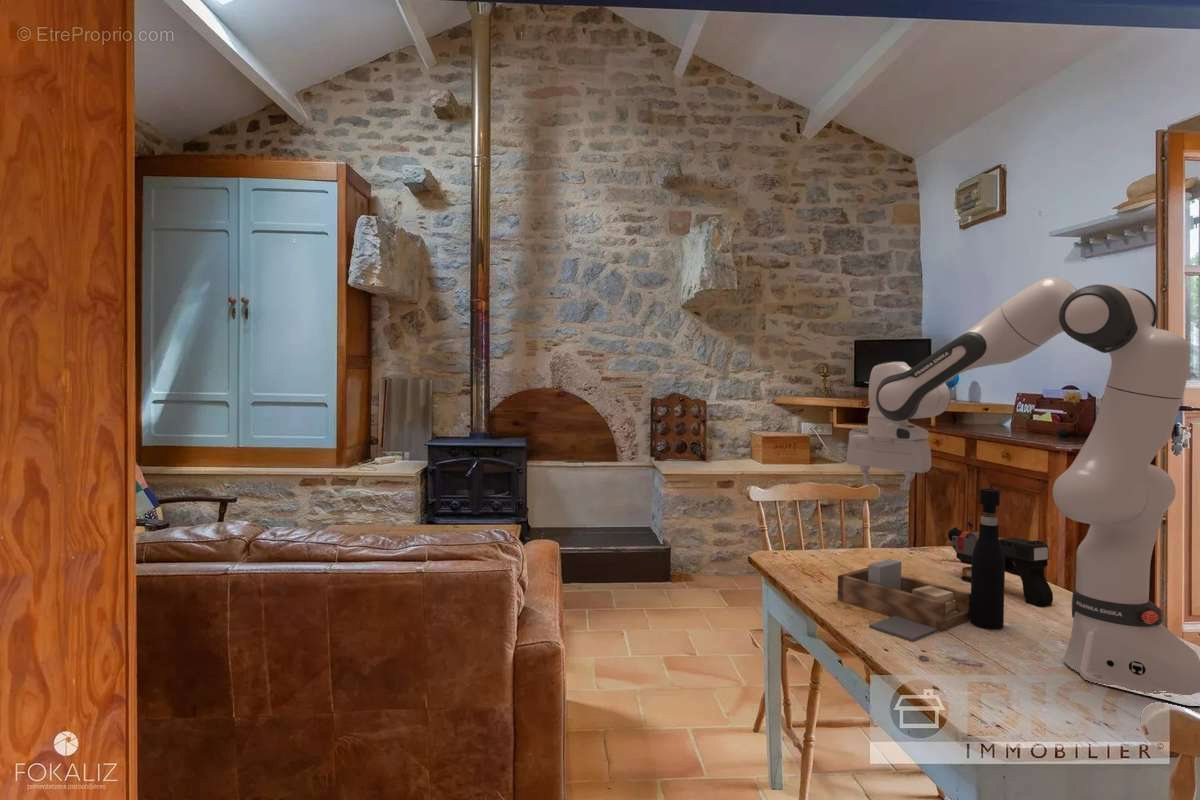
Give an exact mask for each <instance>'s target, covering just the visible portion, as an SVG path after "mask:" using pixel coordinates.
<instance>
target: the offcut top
mask: <svg viewBox="0 0 1200 800" xmlns="http://www.w3.org/2000/svg"><path fill="white" fill-rule="evenodd" d="M912 594H915V595H919V596H922V597H926V598H930V599H933V600H937V601H941V602H945V603H949V602H953V592H950V591H946V590H943V589H939V588H936V587H933V586H925V587H921V588H916V589H912Z"/></svg>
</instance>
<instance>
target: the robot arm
mask: <svg viewBox="0 0 1200 800" xmlns="http://www.w3.org/2000/svg"><path fill="white" fill-rule="evenodd" d="M1158 312H1159V311H1158V307H1157V305H1156V303H1155V301H1154V300H1153V299H1152V297H1151V296H1149V295H1148V294H1147V293H1145V292H1143V291H1141V290H1139V289H1136V288H1130V287H1127V286H1125V285H1124V286H1123V285H1120V284H1091V285H1087V286H1084V287H1082V288H1081V287H1080V288H1079V289H1077V287H1075V285H1074V284H1072V283H1071V282H1069V281H1068V280H1066V279H1064V278H1060V277H1057V276H1056V277H1055V276H1050V277H1045V278H1042V279H1041V280H1038V281H1037V282H1035V283H1033V284H1031V285H1029V286H1027V287H1025V288H1024V289H1022V290H1021V291H1019V292H1017V293H1016V294H1014V295H1013V296H1012V297H1010V298H1008V299H1007V300H1006V301H1004V303H1001V305H999V306H998V307H996V308H994V310H993V311H991V312H990V313H988V314H987V315H986V316H985V317H983V318H982V319H981V320H980V321H979V322H977V323H976V324H975V325H973V326H972V327H971V328H969V329H968V330H966V331H964V332H963V333H962V334H960V335H959V336H958V337H957V338H955V339H953V340H952V341H950V342H948V343H947V344H945V345H944V346H942V347H941V348H939V349H938V350H937V351H935V352H934V353H932V354H931V355H929V356H927V357H926V358H924V359H923V360H922V361H920V362H919V363H917V364H916V365H915V366H913V367H911V366H909V364H908V363H907V362H905V361H902V360H900V361H899V360H893V361H884V362H881V363H878V364H876V365H874V366H873V367H872V369H871V372H870V376H869V382H868V402H869V412H868V414H867V427H859V426H857V427H854V428H853V429H851V430H850V431H849V433H848V443H847V449H846V450H847V451H846V461H847V463H848V464H849V465H855V466H859V470H860V473H861V474H862V476H863V484H864V485H867V486H873V485H874V483H875V482H874V477H872V476H871V474H870V472H869V471H870V470H871V468H878V469H879V468H880V469H886V470H887V469H888V470H896V471H902V472H904V476H905V479H904V480H903V481H900V483H899V485H900V487H899V489H900V490H901V491H910V490H911V483H912V481H913V479H914V478H915V476H916V473H917V474H918V473H919V474H922V473H923V474H924V473H928V472H929V471H930V470H931V469H932V449H931V446H930V445H931V444H930V443H929V441H928V440H927V439H928V438H929V436H930V433H929V430H928V429H925V428H923V427H920V426H918V425H916V424H913V423H911V422H909V420H912V419H913V420H915V419H925V418H926V419H927V418H934V417H937V416H940V415H942V414H943V413H945V411H947V409H948V408H949V405H950V403H951V398H952V397H951V390H950V388H949V385H948V384H947V382H948V381H950V380H952V379H954V378H955V377H957V376H958V375H960V374H962V373H964V372H967V371H970V370H974V369H977V368H983V367H988V366H995V365H1003V364H1008V363H1012V362H1015V361H1017V360H1019V359H1020V358H1023V357H1026V356H1027V355H1029V354H1031V353H1033V352H1034V351H1035V350H1037V349H1039V348H1040V347H1042V346H1043V345H1044V344H1046V343H1047V342H1048V341H1050V340H1051V339H1052V338H1054V337H1056V336H1057V335H1059V334H1061V333H1065V334H1066V335H1067V336H1069V337H1070V338H1071V339H1074V340H1075V341H1076V342H1079V343H1081V344H1083V345H1085V346H1088V347H1090V348H1091V349H1094V350H1096V351H1097V352H1100V353H1103V354H1109V356H1110V359H1111V366H1110V370H1109V375H1108V377H1107V382H1106V385H1105V389H1104V392H1103V394H1102V395H1103V396H1102V399H1101V403H1100V406H1099V409H1098V412H1097V416H1096V419H1095V422H1094V424H1093V427H1092V430H1091V431H1090V433H1089V435H1088V437H1087V439H1086V440H1085V442H1084V444H1083V445H1082V447H1081V449H1080V450H1079V452H1078V454H1077V455H1076V457H1075V459H1074V460H1073V462H1072V464H1071V465H1070V466H1069V467H1068V468H1067V469H1066V470H1065V471H1064V472H1063V473H1062V474H1061V475H1059V476H1058V477H1057V478H1056V480H1055V482H1054V483H1053V487H1052V498H1053V499H1052V500H1053V502H1054V504H1055V507H1056V508H1057V509H1058V511H1059V512H1060V513H1061V514H1063V515H1064V516H1065V517H1066V518H1067V519H1069V520H1071V521H1075V522H1079V523H1083V524H1088V525H1089V528H1088V530H1087V533H1086V535H1085V537H1084V538H1083V540H1081V542H1080V544H1078V547H1077V550H1076V559H1075V562H1076V563H1075V564H1076V565H1075V588H1073V589H1072V596H1071V613H1072V614H1071V617H1072V618H1073V620H1072V626H1071V633H1070V638H1069V642H1068V645H1067V649H1066V651H1065V653H1064V656H1063V659H1062V660H1064V661H1063V663H1064V662H1065V663H1066V664H1067V665H1068V666H1070V667H1072V668H1073V669H1074V670H1076V671H1078V672H1079V673H1080V675H1081V676H1082V677H1083V678H1084V679H1086V680H1088V681H1091V682H1096V683H1101V684H1106V685H1118V686H1121V687H1125V688H1127V689H1130V690H1136V691H1142V692H1147V693H1153V694H1160V693H1163V692H1159V691H1166V692H1164V693H1173V694H1181V695H1192V694H1195V693H1198V692H1199V693H1200V658H1199V655H1198V653H1196V651H1195V650H1194V649H1193V648H1191V647H1190V646H1189V645H1188V644H1186V643H1185V642H1184V641H1183V640H1181V639H1180V638H1179V637H1178V636H1176V635H1175V634H1174V633H1173V632H1172V631H1171V630H1170V629H1168V628H1167V627H1166V626H1165V625H1163V624H1162V622H1163V621H1162V620H1163V613H1164V612H1165V611H1164V609H1165V607H1164V606H1163V605H1161V606H1160V607H1158V606H1157V605H1156V604H1155V603H1154V602H1152V601H1151V600H1150V596H1149V595H1150V581H1151V580H1150V578H1151V577H1150V575H1151V562H1152V561H1151V560H1152V555H1153V551H1154V546H1155V544H1156V540H1157V538H1158V534H1159V531H1160V528H1161V524H1162V521H1163V518H1164V516H1165V514H1166V512H1167V510H1168V508H1169V507H1170V506H1171V505H1172V503H1174V500H1175V497H1176V491H1177V490H1176V485H1175V483H1174V482H1175V481H1174V480H1173V478H1172V477H1171V475H1170V474H1169V473H1168V472H1167V471H1165V469H1163V468H1161V467H1159V466H1157V465H1154V464H1151V463H1152V462H1153V460H1154V459H1155V457H1156V455H1158V453H1159V452H1160V450H1162V449H1163V447H1165V446H1166V445H1167V444H1168V442H1169V440H1170V439H1171V435H1172V432H1173V430H1174V427H1175V424H1176V420H1177V416H1178V413H1179V410H1180V407H1181V403H1182V400H1183V396H1184V392H1185V389H1186V385H1187V381H1188V380H1187V379H1188V374H1189V366H1190V345H1189V343H1188V341H1187V340H1186V339H1185V338H1184V337H1182V336H1181V335H1180V334H1178V333H1176V332H1173V331H1170V330H1166V329H1162V328H1156V327H1155V326H1156V325H1157V323H1158V318H1159V313H1158ZM1065 663H1064V664H1065ZM1066 664H1065V665H1066ZM1067 665H1066V666H1067ZM1068 666H1067V667H1068ZM1074 670H1073V671H1074ZM1076 671H1075V672H1076ZM1079 673H1078V674H1079ZM1080 675H1079V676H1080ZM1081 676H1080V677H1081ZM1082 677H1081V678H1082ZM1083 678H1082V679H1083ZM1084 679H1083V680H1084ZM1088 681H1087V682H1088ZM1091 682H1090V683H1091ZM1154 691H1156V692H1154ZM1164 696H1166V697H1172V696H1171V695H1164Z"/></svg>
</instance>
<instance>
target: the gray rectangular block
mask: <svg viewBox="0 0 1200 800" xmlns="http://www.w3.org/2000/svg"><path fill="white" fill-rule="evenodd" d="M867 568H868V582H871V583H874V584H878V585H882V586H885V587H889V588H893V589H897V590H900V591H901V575H902V561H900V560H896V559H892V558H891V559H890V558H888V559H885V560H881V561H878V562H875V563H871V564H868V567H867Z"/></svg>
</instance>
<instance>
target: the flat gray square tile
mask: <svg viewBox="0 0 1200 800" xmlns="http://www.w3.org/2000/svg"><path fill="white" fill-rule="evenodd" d="M868 628H870V629H873V630H875V631H879V632H882V633H884V634H888V635H890V636H893V637H897V638H900V639H904V640H906V641H909V642H915V641H918V640H920V639H923V638H925V637H928V636H930V635H933V634H935V633H937V632H939V631H938V629H937V628H934V627H931V626H927V625H924V624H921V623H917V622H914V621H911V620H908V619H904V618H901V617H898V616H893V617H892V616H889V617H886V618H885V619H882V620H879V621H876V622H873V623H870V624H868Z"/></svg>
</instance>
